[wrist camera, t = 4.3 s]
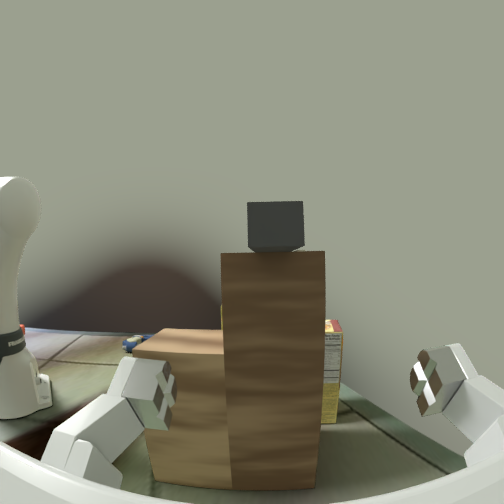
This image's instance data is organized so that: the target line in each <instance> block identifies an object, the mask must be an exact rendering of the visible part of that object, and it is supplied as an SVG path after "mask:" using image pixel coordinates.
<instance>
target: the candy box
mask: <svg viewBox="0 0 504 504" xmlns="http://www.w3.org/2000/svg"><path fill="white" fill-rule="evenodd" d="M342 346H343V331H342V329H341V327H340V325H339V323H338V320H325V358H324V382H323V400H322V415H321V423H336V418H337V409H338V399H339V390H340V378H341V363H342Z"/></svg>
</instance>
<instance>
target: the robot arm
mask: <svg viewBox="0 0 504 504" xmlns="http://www.w3.org/2000/svg"><path fill="white" fill-rule="evenodd" d="M40 216H41V201H40V196H39V193H38V191H37V189H36V188H35V186H34V185H33V184H32V183H31V182H30V181H29V180H28V179H25V178H23V177H1V178H0V419H13V418H19V417H23V416H26V415H29V414H31V413H33V412H35V411H37V410H39V409H43V408H47V407H50V406H52V397H51V387H50V379H49V376H47V375H44V374H39V371H38V365H37V361H36V357H35V356H34V355H33V354H32V353H31V352H30V351H29V350H28V349H27V348H26V347H25V346H26V343H25V337H24V335H25V327H24V325H20V324H19V315H18V302H17V279H18V272H19V267H20V262H21V258H22V255H23V251H24V248H25V245H26V243H27V241H28V239H29V238H30V236H31V235H32V234H33V232H34V231H35V230H36V228H37V226H38V223H39V220H40ZM417 358H418V360H419V362H418V363H417V364H415V365H414V366H413V368H412V371H411V373H410V384H411V388H412V391H413V392H414V393H415V394H417V395H418V399H417V404H418V407H419V409H420V413H421V415H422V417H423V416H428V415H432V414H436V413H441V412H442V414H443V415H444V416H445V417H446V418H447V419H448V420H449V421H450V422H451V423H453V424H454V425H455V426H456V427H457V428H458V429H459V430H460V431H461V432H462V433H463V434H464V435H465V436H466V437H467V438H468V439H469V440H471V442H472V443H473V444H472V445H471V446H470V447H469V448H468V449H467V450H466V451H465V453H464V458H465V461H466V464H467V468H464V469H462V470H459V471H457V472H454V473H452V474H449V475H446V476H444V477H441V478H438V479H435V480H432V481H429V482H426V483H423V484H420V485H416V486H413V487H409V488H406V489H402V490H398V491H394V492H390V493H386V494H382V495H377V496H373V497H368V498H363V499H357V500H351V501H345V502H338V503H331V504H504V390H503V389H502V388H500V387H499V386H497V385H496V384H494V383H493V382H491V381H490V380H488V379H487V378H485V377H484V376H482V375H480V376H478V374H477V372H476V370H475V369H474V367H473V365H472V363H471V361H470V360H469V358H468V356H467V354H466V353H465V351H464V349H463V348H462V346H461V345H460V344H459V343H456V344H451V345H447V346H445V345H444V346H440V347H435V348H429V349H423V350H422V351H421V352H420V353H419V355H418V357H417ZM170 372H171V366H170V363H169V361H161V360H151V359H143V358H134V357H124V358H123V359H122V360H121V362H120V364H119V366H118V368H117V371H116V373H115V375H114V378H113V380H112V382H111V385H110V387H109V390H108V392H107V394H102V395H100V396H99V397H98V398H96V399H95V400H94V401H92V402H91V403H90V404H88V405H87V406H85V407H84V408H83V409H81V410H80V411H79V412H77V413H76V414H75V415H73V416H72V417H70V418H69V419H68V420H66V421H65V422H63V423H62V424H61V425H59V426H58V427H57V428H55V429H54V430H53V432H52V435H51V437H50V439H49V442H48V444H47V446H46V449H45V451H44V454H43V456H42V459H41V461H39V460H36V459H34V458H32V457H30V456H28V455H26V454H24V453H22V452H20V451H18V450H16V449H14V448H12V447H10V446H8V445H7V444H5V443H3V442H1V441H0V504H192V503H184V502H178V501H171V500H165V499H160V498H155V497H150V496H145V495H140V494H136V493H132V492H128V491H124V490H120V487H121V483H122V479H123V475H122V473H121V472H120V471H119V470H118V469H117V468H116V467H115V466H114V465H113V464H112V462H113V461H114V460H115V459H116V458H117V457H118V456H119V455H120V454H121V453H122V452H123V451H124V450H125V449H126V448H127V447H128V446H129V445H130V444H131V443H132V442H133V441H134V440H135V439H136V438H137V437H138V436H139V435H140V434H141V433H142V432H143V431H144V430H145V428H149V429H158V430H167V431H169V428H170V423H171V419H172V415H173V414H172V412H171V410H170V407H171V406H173V405H174V404H175V402H176V397H177V384H176V380H175V377H174V376H173V375H171V374H170Z"/></svg>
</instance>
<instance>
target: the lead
mask: <svg viewBox="0 0 504 504" xmlns="http://www.w3.org/2000/svg"><path fill="white" fill-rule="evenodd" d="M247 213H248V214H247V215H248V247H249V248H250V249H251V250H253V251H254V252H255V253H256V252H291V251H293V250H296V249H298V248H300V247H303V246H304V245H305V244H304V215H303V201H288V202H287V201H283V202H248V203H247Z"/></svg>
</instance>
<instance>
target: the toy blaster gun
mask: <svg viewBox="0 0 504 504" xmlns="http://www.w3.org/2000/svg"><path fill="white" fill-rule="evenodd" d="M152 336H154V335H134V336H133V338H130V339H128V340H125V341H123V346H122V349H123V350H126V351H127V352H132V349H133V348H135V347H136V346H138V345H139V344H141V343H143V342H144V341H146V340H147V339H149V338H150V337H152Z"/></svg>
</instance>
